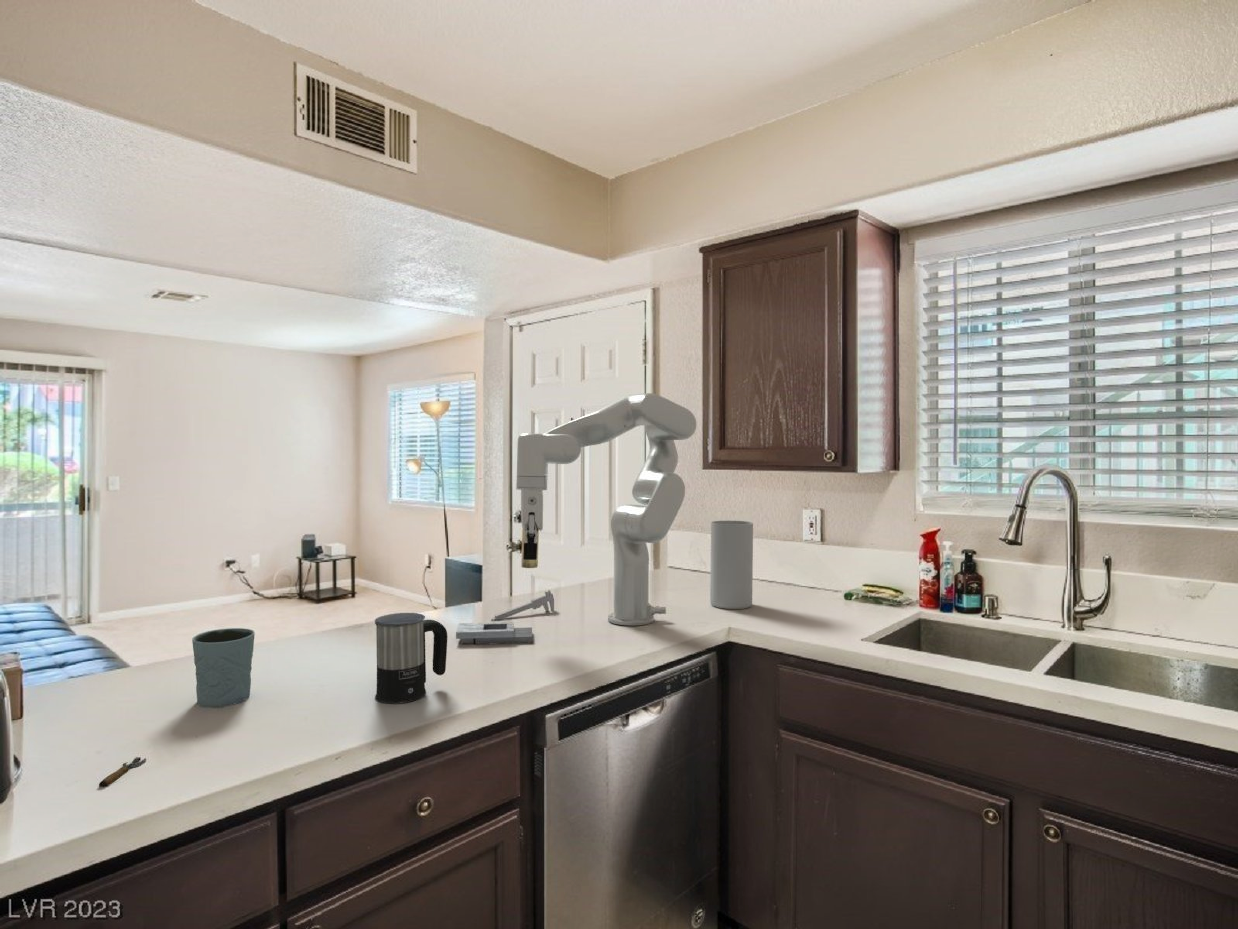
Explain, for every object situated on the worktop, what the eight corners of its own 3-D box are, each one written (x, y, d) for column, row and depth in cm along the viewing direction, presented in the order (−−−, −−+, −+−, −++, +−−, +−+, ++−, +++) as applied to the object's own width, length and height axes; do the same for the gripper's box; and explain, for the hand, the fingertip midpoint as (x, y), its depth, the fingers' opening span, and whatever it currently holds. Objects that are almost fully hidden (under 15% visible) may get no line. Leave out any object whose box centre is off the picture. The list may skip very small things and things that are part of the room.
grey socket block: (531, 633, 181) (531, 621, 181) (532, 642, 172) (532, 630, 172) (459, 635, 178) (459, 623, 178) (456, 645, 169) (456, 632, 169)
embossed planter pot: (241, 686, 139) (240, 625, 139) (264, 698, 133) (264, 634, 132) (183, 700, 131) (183, 635, 131) (205, 713, 125) (205, 645, 125)
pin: (537, 565, 178) (538, 525, 178) (538, 568, 174) (539, 527, 174) (521, 565, 177) (522, 525, 177) (521, 568, 173) (522, 526, 173)
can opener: (106, 789, 97) (105, 781, 97) (89, 789, 98) (89, 781, 98) (151, 761, 106) (151, 753, 106) (136, 760, 107) (136, 753, 107)
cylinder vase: (755, 610, 209) (756, 524, 208) (712, 609, 209) (713, 524, 208) (748, 601, 221) (749, 520, 221) (708, 600, 221) (708, 520, 221)
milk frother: (397, 708, 128) (397, 626, 128) (340, 692, 136) (340, 614, 136) (454, 686, 140) (455, 611, 140) (400, 672, 148) (400, 601, 148)
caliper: (552, 610, 208) (552, 589, 208) (554, 611, 207) (554, 589, 207) (490, 621, 194) (490, 598, 194) (492, 622, 194) (492, 599, 193)
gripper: (549, 485, 168) (546, 563, 168) (545, 483, 184) (543, 554, 184) (516, 484, 167) (514, 563, 167) (515, 482, 183) (513, 553, 183)
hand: (529, 557), depth 175 cm, fingers closed on pin, 4 cm apart
